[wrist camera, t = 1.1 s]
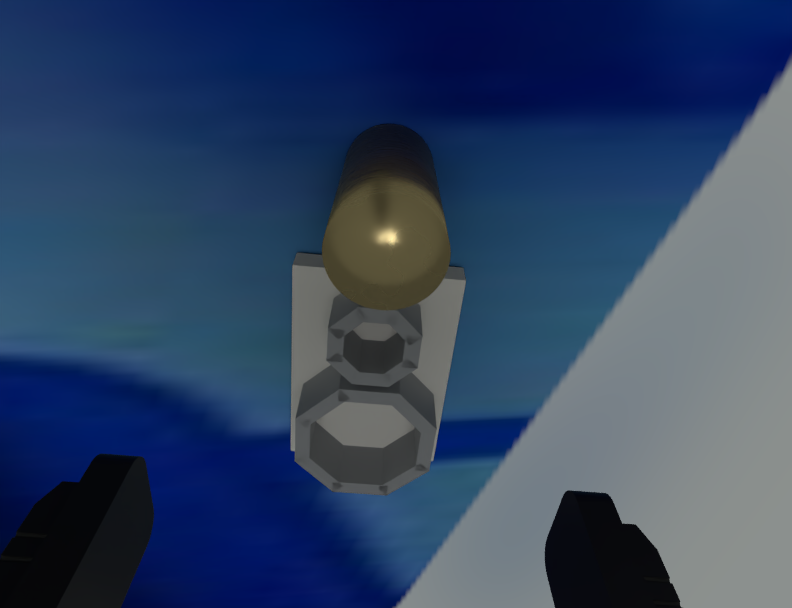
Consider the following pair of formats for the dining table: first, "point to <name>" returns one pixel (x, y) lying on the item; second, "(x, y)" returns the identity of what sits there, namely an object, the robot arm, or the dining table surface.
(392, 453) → the grey mounting plate
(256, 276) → the dining table surface
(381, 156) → the brass cylinder
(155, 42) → the dining table surface
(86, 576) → the robot arm
